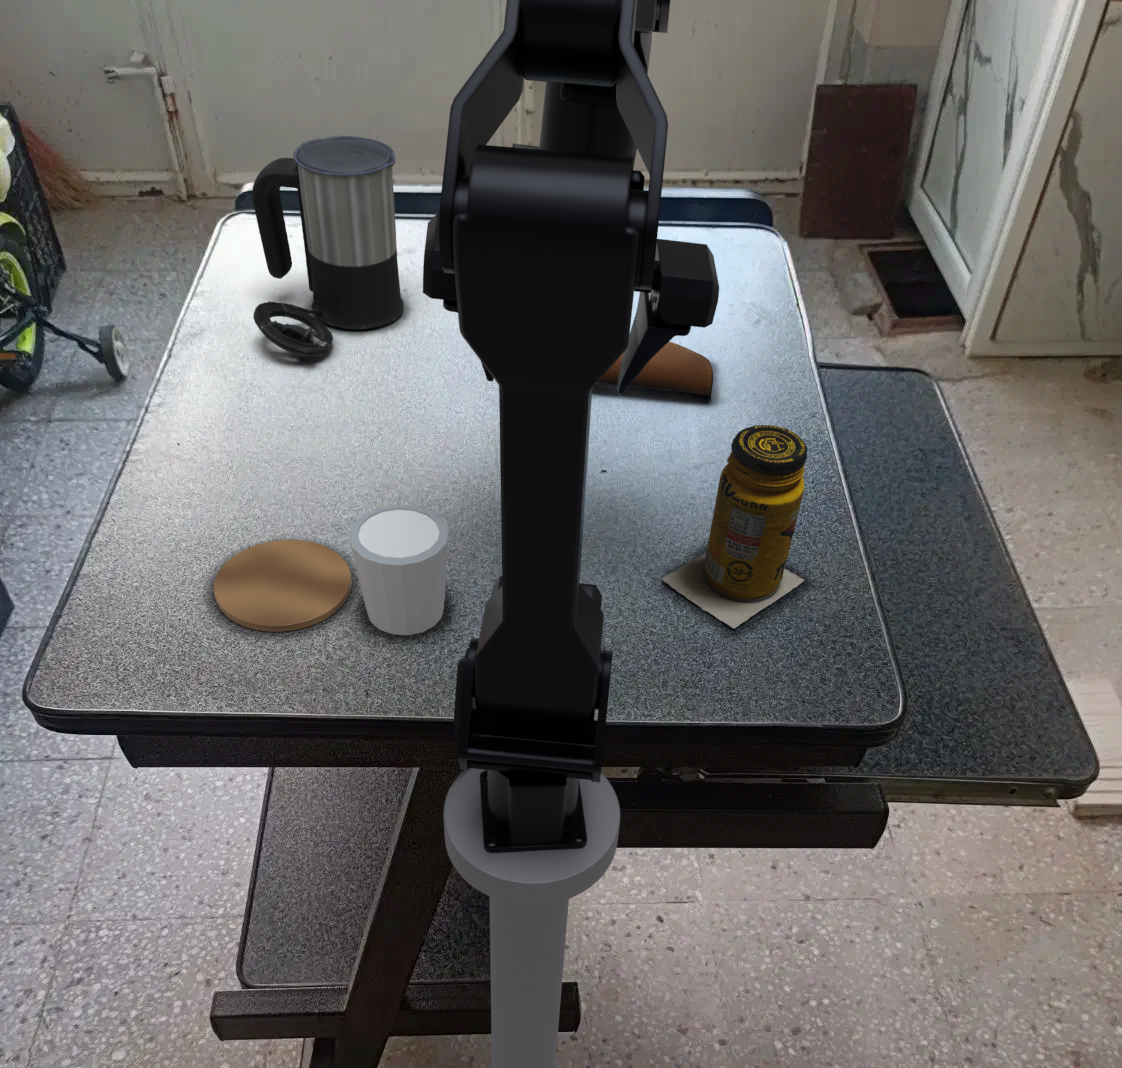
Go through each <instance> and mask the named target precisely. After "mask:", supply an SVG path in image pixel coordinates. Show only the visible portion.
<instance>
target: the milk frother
mask: <svg viewBox="0 0 1122 1068" xmlns="http://www.w3.org/2000/svg"><path fill="white" fill-rule="evenodd" d="M395 163H396V155H395V151H394V150H393V148H392V147H390V146H389V145H388V144H387V143H385V142H382V141H379V140H377V139H373V138H367V137H363V136H357V135H356V136H355V135H329V136H322V137H317V138H316V137H315V138H313V139H310V140H307V141H304V142H302V143H301V144H300V145H299V146H297V147H296V148H295V149H294V151H293V153H292V157H280V158H277V159H275V160H272V161H270V162H269V163H268V164H266V165H265V166H264V167H263V168H262V169H261V170H260V172H259V173H258V174H257V176H256V177H255V180H254V182H253V185H252V192H251V197H252V204H253V208H254V212H255V216H256V223H257V227H258V232H259V236H260V241H261V245H262V249H263V250H262V251H263V254H264V258H265V263H266V267H267V271H268V273H269V275H270V276H272V277H273V278H274V279H278V280H279V279H283V278H284V277H285V276H286V275H288V274H289V272H290V271H291V269H292V267H293V259H292V253H291V247H290V241H289V236H288V231H287V228H286V227H287V225H286V221H285V216H284V209H283V203H282V198H281V188H291V189H297V197H298V198H297V199H298V205H299V215H300V223H301V230H302V231H301V232H302V239H303V246H304V254H305V263H306V274H307V280H308V281H307V282H308V288H309V291H311V292H312V299H313V301H312V303H311V309H310V308H305V307H301V306H298V305H294V304H291V303H286V302H276V301H269V300H268V301H266V302H262V303H260V304H258V305H257V306H256V307H255V309H254V311H253V321H254V323H255V325H256V326H257V328H258V329H259V331H260V332H261V333H262V335H263V336H265V337H266V339H267V340H269V341H270V342H271V343H273V344H274V346H277V347H279V348H280V349H282V350H284V351H286V352H288V353H291V354H294V355H297V356H299V357H300V358H303V357H310V358H312V357H313V358H314V357H319V356H323V355H325V354H326V353H328V352H329V351H330V350H331V348H332V343H333V341H334V336H333V333H332V332H331V330H330V329H328V327H327V326H326V325H328V326H331V327H337V328H340V329H346V330H368V329H373V328H379V327H383V326H385V325H388V324H390V323H392V322H394V321H395V320H397V319H398V318H399V317H400V316H401V315H402V314H403V312H404V307H405V306H404V305H405V304H404V301H403V299H402V294H401V284H400V274H399V273H400V272H399V264H398V248H397V226H396V210H395V208H396V207H395V195H394V176H393V175H394V174H393V167H394V165H395ZM312 315H314V316H312ZM276 317H283V318H290V319H293V320H296V321H298V322H300V323H302V324H304V325H306V326H307V327H308V328H305V327H303V326H300V325H296V324H291V323H285V324H284V323H281V322H278V321H277V320H274V321H272V320H271V318H276ZM325 324H326V325H325ZM313 331H314V332H315V333H316V335H317V336H318V337H319V338H317V337H315V336H314V335H313Z"/></svg>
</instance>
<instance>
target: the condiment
mask: <svg viewBox="0 0 1122 1068" xmlns="http://www.w3.org/2000/svg"><path fill="white" fill-rule="evenodd" d="M730 446H731V447H730V449H731V450H730V451H731V452H730V453H729V456H728V457H727V463H726V465H724V467H723V469H722V470H721V473H720V476H719V481H718V486H717V492H716V497H715V502H714V503H715V504H714V508H713V514H712V520H711V525H710V531H709V536H708V541H707V547H706V552H704V553H703V554H702V555H700V556H697V557H696V558H695V559H692V560H690V561H689V562H688V563H686V564H684V565H682V566H681V567H680V568H678V569H676V570H675V571H672V572H670V573H669V574H667V575H666V576H664V577H663V578H661V580H662V581H663V582H664V583H666V584H667V585H669V587H671V588H672V589H673V590H675V591H676V592H677V593H679V594H680V595H682V596H683V597H685V598H686V599H687V600H689V601H690V602H692V603H693V604H695V605H697V606H698V607H699V608H700V609H701V610H702V611H705V612H707V613H708V614H710V615H712V616H714V617H715V618H716V619H717V620H719V621H720V622H723V623H724V624H726V625H727V626H729V627H730V628H732V629H733V630H735V629H737V627H739V626H740V625H741V624H743V623H745V622H747V621H748V620H750V618H752V617H754V616H755V615H756V614H758V613H759V612H760V611H762V610H764V609H766V608H768V606H770V605H772V604H774V603H775V602H777V601H778V600H779V599H781V598H782V597H784V596H785V595H787V594H788V593H790V592H791V591H793V589H795V588H797V587H798V586H800V585H801V584H802V583H803V582H804V581H805V579H803V578H802V577H800V576H798V575H797V574H795V573H794V572H791V571H790V570H788V569H786V565H787V560H788V558H789V554H790V553H789V552H790V549H791V545H792V539H793V537H794V535H795V528H796V524H797V521H798V516H799V513H800V510H801V504H802V502H803V497H804V491H805V478H804V474H805V466H806V465H805V464H806V461H807V460H808V446H807V444H806V443H805V441H804V440H803V439H802V437H800V436H799V434H797V433H795V432H793V431H792V430H789V429H788V428H787V427H785V428H784V427H781V426H777V425H773V424H765V425H764V424H758V425H753V426H749V427H745V428H743V429H741V430H739V431H738V432H737V434H736V435H735V436H734V438H732V442H731V445H730Z"/></svg>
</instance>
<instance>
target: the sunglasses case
mask: <svg viewBox="0 0 1122 1068" xmlns="http://www.w3.org/2000/svg"><path fill="white" fill-rule="evenodd" d="M623 354H624V353H623ZM623 354H622V355H621V356H620V357H619V358H618V360H617V361H616V362H615V363H614V364H613V365H612V366H611V368H610V369H609V370H608V371H607V372H606V373H605V375H604V376H603V377H602V378H601V379H600V380H599V381H598V383H597V384H600V385H610V386H616V387H617V382H618V376H619V369H620V365H621V361H622V358H623ZM713 385H714V371H713V367H712V364H711V361H710V360H709V359H708V358H707V357H706V356H704V355H703V354H701V353H698V352H697V351H694V350H692V349H690V348H688V347H685V346H683V345H681V344H679V343H675V342H673V341H671V340H670V341H669V342H668V343H667V344H666V345H665V346H664V347H663V348H662V349H661V350H660V351H659V352H658V353H657V354H656V355H655V356H654V357H653V358H652V359H651V360H650V361H649V362H648V363H647V364H646V366H645V367H644V368H643V369H642V371H641V372H640V373H639V375H638V376H637V377H636V378H635V380H634V381H633V382H632V384H631V385H630V386H629V387H633V388H634V387H635V388H642V389H649V390H659V391H670V392H679V393H689V394H696V395H700V396H707V397H708V398H709V399H712V393H713Z"/></svg>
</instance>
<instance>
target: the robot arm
mask: <svg viewBox="0 0 1122 1068" xmlns="http://www.w3.org/2000/svg"><path fill="white" fill-rule="evenodd" d="M670 9H671V0H506V5H505V13H504V23H503V30H502V32H501V34H500V35H499V37H498V38H497V39H496V41H495V42H494V43H493V45H492V46H491V47H490V48H489V50H488V51H487V53H486V54H485V56H484V57H483V58H482V59H481V61H480V62H479V64H478V65H477V67H475V69H474V70H473V72H472V73H471V75H470V76H469V77H468V78H467V80H466V81H465V82H464V84H463V85H462V87H461V88H460V90H459V91H458V92H457V94H456V95H455V96H454V98H453V101H452V103H451V105H450V110H449V119H448V128H447V139H446V146H445V156H444V165H443V174H442V182H441V183H442V184H441V191H440V203H439V212H437V213H436V214H435V215H434V216H433V217H432V218H431V219H430V220H429V221H428V222H427V227H426V236H425V242H424V243H425V245H424V251H423V252H424V253H423V265H422V266H423V267H422V268H423V269H422V273H423V274H422V294H424V295H426V297H428V298H430V299H432V300H433V299H435V300H441V301H442V307H443V309H444V310H445V311H447V312H452V313H457V316H458V317H457V318H458V327H459V332H460V334H461V337H462V338H463V339H464V341H465V343H467V345H468V346H469V348H470V349H471V350H472V352H474V354H475V355H476V357H477V358H478V359H479V360H480V364H481V367H482V369H483V372H484V375H485V378H486V380H487V382H494V380H495V382H496V384H497V385H498V399H499V400H498V402H499V403H498V404H499V408H498V409H499V463H500V464H499V465H500V467H499V470H500V471H499V472H500V473H499V475H500V531H501V533H500V535H501V537H500V538H501V539H500V540H501V542H500V543H501V575H499V576H498V577H497V579H496V580H495V581H494V582H493V584H492V588H491V594H490V597H489V599H488V600H487V601H486V602H485V606H484V611H483V615H482V621H481V627H480V631H479V637H475V636H474V637H471V639H470V641H469V644H468V648H467V649H466V652H465V655H464V656H463V657H461V658H460V659H459V660H458V661H457V667H456V681H455V693H454V694H455V695H454V710H453V744H454V745H455V746H456V761H458V763H459V769H460V770H464V769H468V770H469V768H473V769H484V770H485V771H483V772H481V774H480V790H481V807H482V824H483V841H484V849H485V851H486V852H488V853H507V852H526V851H545V850H565V849H581V848H584V847H585V846H586V845H587V833H586V825H585V818H584V811H583V804H582V796H581V789H580V782H579V779H585V780H592V781H591V782H599V783H600V778H601V773H602V769H603V768H602V767H603V759H604V749H605V748H604V747H605V737H606V729H607V728H606V727H607V717H608V705H609V704H608V703H609V695H610V687H611V686H610V685H611V675H612V667H613V656H614V655H613V654H614V650H610V649H602V645H603V634H604V633H603V632H604V622H605V621H604V620H605V613H604V611H603V610H602V600H603V596H602V593H601V592H600V589H599V586H598V585H597V584H594V583H582V582H581V568H582V555H583V537H584V536H583V535H584V521H585V508H586V506H585V505H586V492H587V490H586V489H587V476H588V461H589V459H588V458H589V444H590V429H591V414H592V397H593V389H594V387H595V386H596V385H597V384H598V381H599V380H600V379H601V378H602V377H603V376H604V375H605V373H606V372H607V371H608V370H609V369H610V368H611V366H612V365H613V364H614V363H615V362H616V361H617V360H618V358H619V357H620V356H621V355H622V354H623V353H624V354H623V358H622V361H621V365H620V369H619V376H618V382H617V386H616V392H617V395H624V394H625V392H626V391H627V390H628V389H629V388H630V387H631V386H630V385H631V384H632V382H633V381H634V380H635V378H636V377H637V376H638V375H639V373H640V372H641V371H642V369H643V368H644V367H645V366H646V364H647V363H648V362H649V361H650V360H651V359H652V358H653V357H654V356H655V355H656V354H657V353H658V352H659V351H660V350H661V349H662V348H663V347H664V346H665V345H666V344H667V343H668V342H669V341H670V342H671V340H672V339H673V338H674V337H686V336H688V335H689V334H690V332H691V329H692V327H695V328H703V329H704V328H707V327H709V326H711V325H713V322H714V318H715V315H716V311H717V307H718V303H719V295H720V282H719V279H718V277H719V276H718V273H717V268H716V260H715V256H714V253H713V252H712V251H711V248H710V247H709V246H708V243H707V244H706V243H699V242H698V243H697V242H688V241H681V240H680V241H679V240H672V239H663V238H658V233H659V223H660V222H659V221H660V214H661V205H662V204H661V202H662V193H663V181H664V174H665V173H664V172H665V161H666V152H667V142H668V141H667V140H668V132H669V121H668V116H667V115H668V114H667V113H666V111H665V109H664V106H663V104H662V102H661V100H660V97H659V96H658V94H657V92H656V90H655V87H654V86H653V83H652V81H651V79H650V77H649V75H648V73H649V66H650V57H651V49H652V42H653V41H652V40H653V33H660V34H668V28H669V20H670V19H669V18H670ZM525 81H533V82H545V88H544V97H543V107H542V117H541V127H540V135H539V136H540V137H539V146H537V145H531V144H530V145H529V144H522V143H515V142H514V143H512V145H511V146H502V145H489V144H488V143H489V142H490V141H491V139H492V138H493V136H494V135H495V134H496V132H497V131H498V129H499V128H500V127H501V125H502V124H503V122H504V121H505V120H506V118H507V117H508V116H509V114H510V113H511V112H512V110H513V109H514V108H515V106H516V105H517V104H518V102H519V100H520V99H521V96H522V94H523V90H524V83H525ZM637 152H638V153H639V155H640V158H641V161H642V162H643V164H644V166H645V169H646V170H647V172H648V175H649V180H648V190H647V189H645V179H646V176H645V175H644V174H643V172H642V171H641V170H635V168H634V167H635V162H636V156H637ZM636 292H637V293H639V295H638V302H637V307H636V311H635V315H634V317H633V321H632V315H633V306H634V305H633V304H634V296H635V293H636ZM631 324H632V325H631ZM596 710H597V719H595V714H596ZM485 777H488V779H485ZM577 839H581V840H582V841H581V842H578V841H576V840H577ZM489 844H495V845H494V846H489Z"/></svg>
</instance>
